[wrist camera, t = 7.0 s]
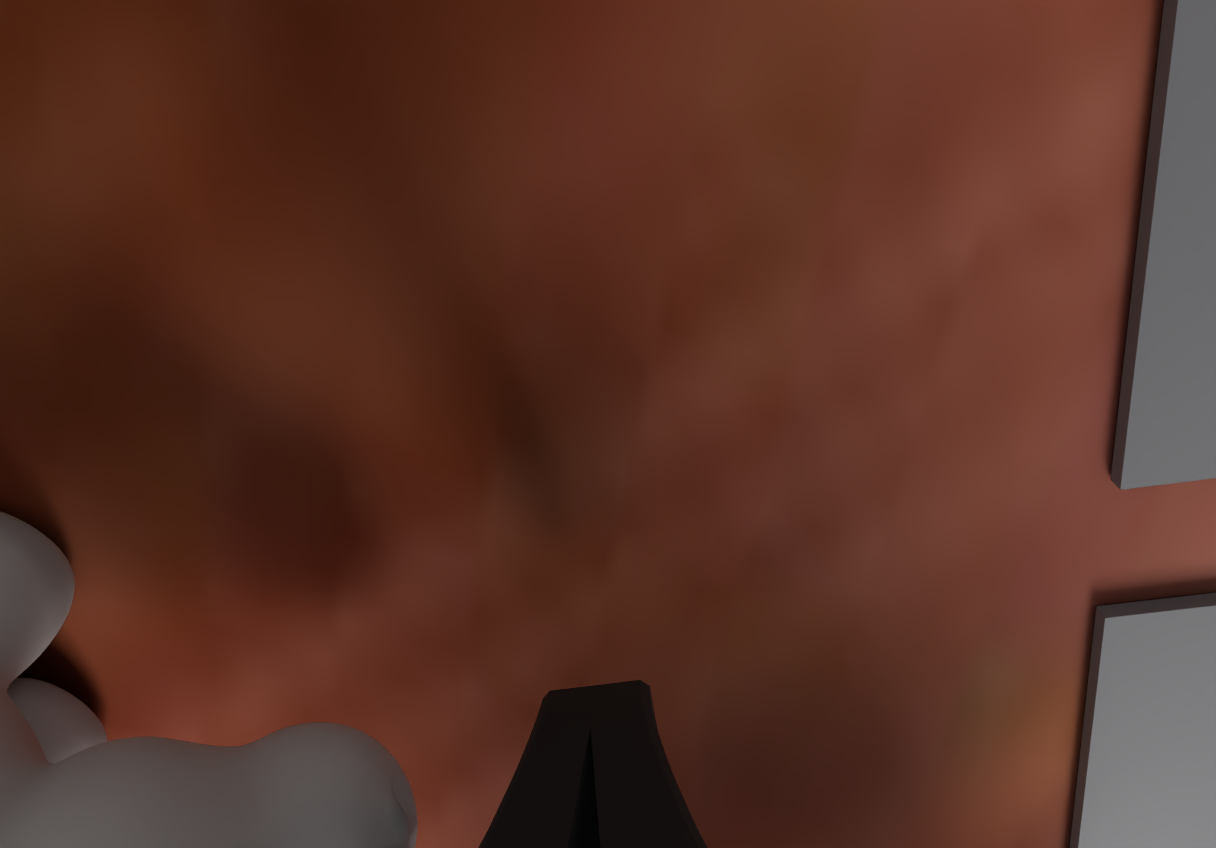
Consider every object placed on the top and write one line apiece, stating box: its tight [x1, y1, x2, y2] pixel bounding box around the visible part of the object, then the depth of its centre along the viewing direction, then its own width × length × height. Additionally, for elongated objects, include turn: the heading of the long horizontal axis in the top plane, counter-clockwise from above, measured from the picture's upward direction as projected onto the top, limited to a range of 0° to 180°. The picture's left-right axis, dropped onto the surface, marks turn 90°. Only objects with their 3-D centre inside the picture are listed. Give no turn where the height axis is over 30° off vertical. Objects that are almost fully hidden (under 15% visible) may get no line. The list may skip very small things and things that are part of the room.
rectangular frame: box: [1070, 0, 1216, 848], centre depth 14 cm, size 22×29×2 cm
